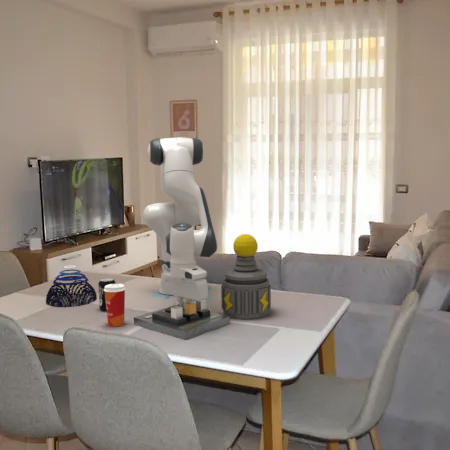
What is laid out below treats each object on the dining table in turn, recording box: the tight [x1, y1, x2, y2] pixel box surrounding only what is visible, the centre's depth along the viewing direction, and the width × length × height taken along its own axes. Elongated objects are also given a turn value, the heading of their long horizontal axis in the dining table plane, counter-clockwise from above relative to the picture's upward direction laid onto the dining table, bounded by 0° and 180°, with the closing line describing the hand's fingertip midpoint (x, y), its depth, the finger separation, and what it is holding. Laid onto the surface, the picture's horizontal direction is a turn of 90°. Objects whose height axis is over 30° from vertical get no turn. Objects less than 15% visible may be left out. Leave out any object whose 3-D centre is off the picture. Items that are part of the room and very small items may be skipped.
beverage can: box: [98, 277, 117, 312], centre depth 218 cm, size 7×7×12 cm
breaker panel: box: [133, 299, 231, 340], centre depth 198 cm, size 22×26×8 cm
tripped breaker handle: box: [185, 301, 196, 315], centre depth 195 cm, size 3×2×4 cm
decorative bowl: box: [45, 265, 98, 308], centre depth 232 cm, size 20×20×14 cm
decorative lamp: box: [220, 233, 272, 320], centre depth 209 cm, size 19×19×30 cm
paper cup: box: [104, 283, 126, 328], centre depth 199 cm, size 8×8×14 cm
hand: (184, 309), depth 197 cm, fingers closed
